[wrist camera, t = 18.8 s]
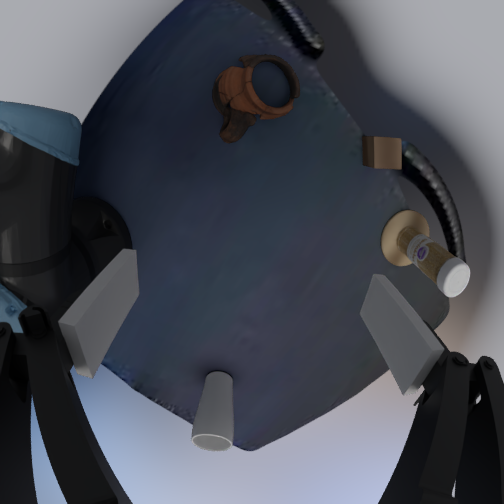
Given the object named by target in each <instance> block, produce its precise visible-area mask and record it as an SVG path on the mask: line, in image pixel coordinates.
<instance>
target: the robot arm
mask: <svg viewBox="0 0 504 504" xmlns="http://www.w3.org/2000/svg"><path fill="white" fill-rule="evenodd" d="M81 133H82V128H81V123H80V121H79V119H78V118H77V117H76V116H74V115H73V114H70V113H67V112H63V111H59V110H54V109H49V108H45V107H40V106H34V105H28V104H21V103H14V102H4V101H0V504H38V503H37V497H36V491H35V484H34V477H33V468H32V455H31V398H32V397H33V402H34V407H35V412H36V416H37V420H38V424H39V428H40V431H41V435H42V439H43V442H44V445H45V448H46V452H47V455H48V457H49V460H50V463H51V466H52V469H53V471H54V474H55V476H56V479H57V481H58V484H59V486H60V488H61V491H62V493H63V495H64V497H65V499H66V502H67V504H133V503H132V502H131V500H130V499H129V497H128V496H127V494H126V493H125V491H124V490H123V488H122V486H121V485H120V483H119V481H118V479H117V478H116V476H115V474H114V473H113V471H112V469H111V467H110V465H109V463H108V462H107V460H106V458H105V456H104V454H103V452H102V450H101V448H100V446H99V444H98V442H97V439H96V437H95V435H94V433H93V431H92V428H91V426H90V424H89V421H88V419H87V416H86V414H85V412H84V409H83V406H82V404H81V401H80V398H79V396H78V393H77V390H76V387H75V384H74V381H73V378H72V375H71V373H70V370H71V368H72V366H73V365H74V367H75V369H76V371H77V374H79V375H82V376H86V377H89V378H92V379H93V377H94V375H95V373H96V371H97V369H98V367H99V366H100V364H101V362H102V360H103V358H104V356H105V354H106V352H107V350H108V348H109V347H110V345H111V343H112V341H113V339H114V337H115V336H116V334H117V332H118V330H119V328H120V327H121V325H122V323H123V321H124V320H125V318H126V316H127V314H128V313H129V311H130V309H131V307H132V306H133V304H134V302H135V301H136V299H137V297H138V296H139V285H138V272H137V256H136V250H132V243H131V238H130V235H129V232H128V229H127V227H126V225H125V223H124V221H123V219H122V218H121V216H120V215H119V214H118V213H117V211H116V210H115V209H114V208H113V207H111V206H110V205H109V204H107V203H106V202H104V201H102V200H100V199H98V198H94V197H80V198H77V199H75V200H73V196H74V186H75V178H76V171H77V166H79V159H78V156H79V147H80V139H81ZM360 315H361V317H362V319H363V321H364V322H365V324H366V326H367V328H368V330H369V331H370V333H371V335H372V337H373V339H374V340H375V342H376V344H377V346H378V348H379V350H380V351H381V353H382V355H383V357H384V359H385V361H386V363H387V365H388V367H389V368H390V370H391V372H392V374H393V376H394V378H395V380H396V382H397V384H398V386H399V388H400V390H401V392H402V394H403V395H409V394H414V393H416V392H417V391H418V389H419V388H420V386H421V385H423V387H424V388H425V390H424V391H423V393H422V394H421V395H420V397H419V398H418V399H417V401H416V402H415V404H414V406H416V404H417V403H419V404H418V408H417V411H416V414H415V418H414V421H413V424H412V427H411V430H410V433H409V435H408V438H407V441H406V443H405V446H404V449H403V451H402V454H401V456H400V459H399V461H398V463H397V466H396V468H395V470H394V473H393V475H392V477H391V479H390V481H389V483H388V485H387V487H386V489H385V491H384V493H383V495H382V497H381V499H380V501H379V503H378V504H504V383H503V380H502V378H501V375H500V372H499V369H498V366H497V364H496V363H495V362H494V360H493V359H491V358H490V357H487V356H482V357H480V359H479V360H478V362H477V363H476V364H473V363H469V361H468V360H467V358H466V357H465V356H464V355H462V354H460V353H458V352H450V351H449V350H448V348H447V347H446V346H445V344H444V343H443V342H442V340H441V339H440V338H439V337H438V336H437V334H436V333H435V331H433V329H432V328H431V326H430V325H429V324H428V323H427V322H426V321H424V320H423V319H422V318H420V317H419V315H418V314H417V313H416V312H415V310H414V309H413V308H412V307H411V306H410V304H409V303H408V302H407V301H406V300H405V298H404V297H403V296H402V295H401V294H400V293H399V291H398V290H397V289H396V288H395V287H394V286H393V284H392V283H391V282H390V281H389V280H388V279H387V278H386V276H385V275H378V274H373V277H372V280H371V283H370V286H369V289H368V292H367V295H366V298H365V300H364V303H363V306H362V309H361V311H360ZM480 394H481V400H480V401H479V403H477V404H476V399H477V398H478V397H479V395H480ZM455 480H456V484H455V498H454V497H452V490H453V487H454V483H455Z"/></svg>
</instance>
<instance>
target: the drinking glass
mask: <svg viewBox="0 0 504 504" xmlns="http://www.w3.org/2000/svg"><path fill="white" fill-rule="evenodd" d="M233 437H234V411H233V379H232V377H231V376H230V375H228V374H227V373H224V372H220V371H215V372H211V373H209V374H208V375H207V376H206V379H205V384H204V388H203V392H202V395H201V398H200V402H199V405H198V409H197V412H196V415H195V419H194V423H193V429H192V438H191V441H192V443H193V444H194V445H195V446H197V447H199V448H201V449H204V450H209V451H225V450H228V449H230V448H231V447H232V445H233Z"/></svg>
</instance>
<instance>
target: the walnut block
mask: <svg viewBox="0 0 504 504" xmlns="http://www.w3.org/2000/svg"><path fill="white" fill-rule="evenodd" d="M362 146H363V165H364V166H368V167H372V168H383V169H401V139H399V138H389V137H375V136H362Z"/></svg>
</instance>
